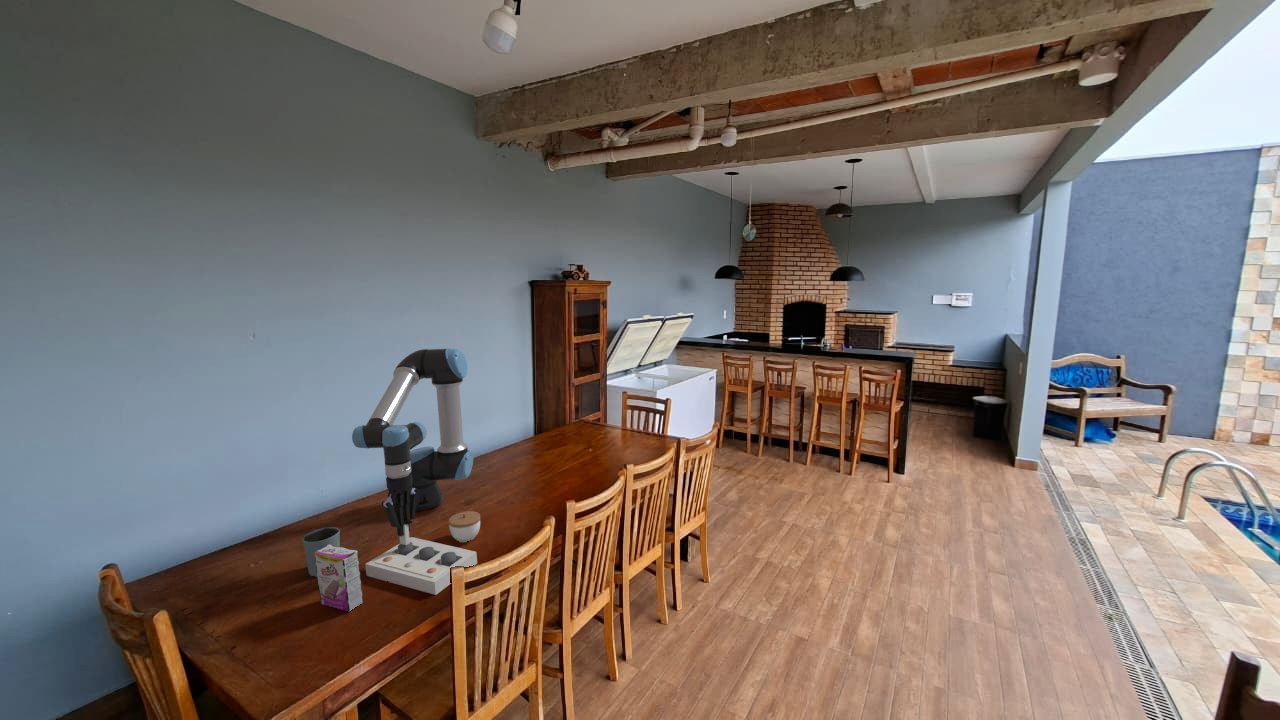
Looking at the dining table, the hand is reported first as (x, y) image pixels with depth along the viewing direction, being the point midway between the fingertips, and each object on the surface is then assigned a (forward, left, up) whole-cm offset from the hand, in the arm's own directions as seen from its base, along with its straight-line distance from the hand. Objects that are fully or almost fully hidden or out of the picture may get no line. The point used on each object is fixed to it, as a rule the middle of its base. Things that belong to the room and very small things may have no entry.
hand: (404, 543), depth 164 cm
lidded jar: (-19, +8, -7) cm, 22 cm away
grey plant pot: (+13, -21, -7) cm, 26 cm away
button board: (+2, +9, -6) cm, 11 cm away
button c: (0, +18, -4) cm, 18 cm away
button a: (0, 0, -4) cm, 4 cm away
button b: (0, +9, -4) cm, 10 cm away
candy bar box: (+24, +1, -7) cm, 25 cm away
